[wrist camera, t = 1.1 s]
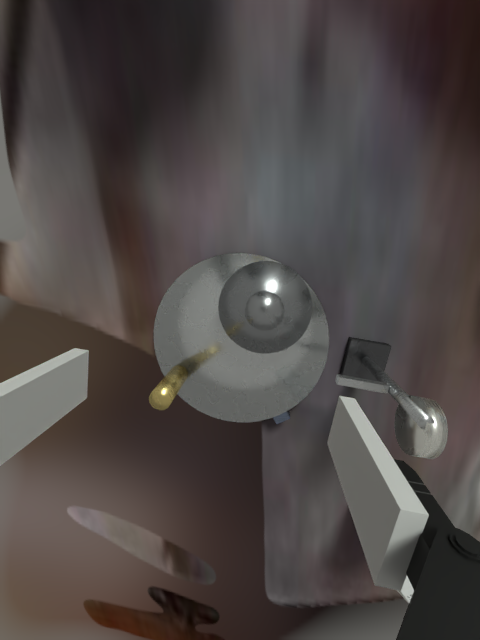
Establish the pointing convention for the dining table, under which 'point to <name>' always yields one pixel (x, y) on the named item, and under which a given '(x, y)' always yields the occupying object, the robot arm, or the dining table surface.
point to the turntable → (229, 352)
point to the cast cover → (265, 307)
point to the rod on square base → (412, 412)
